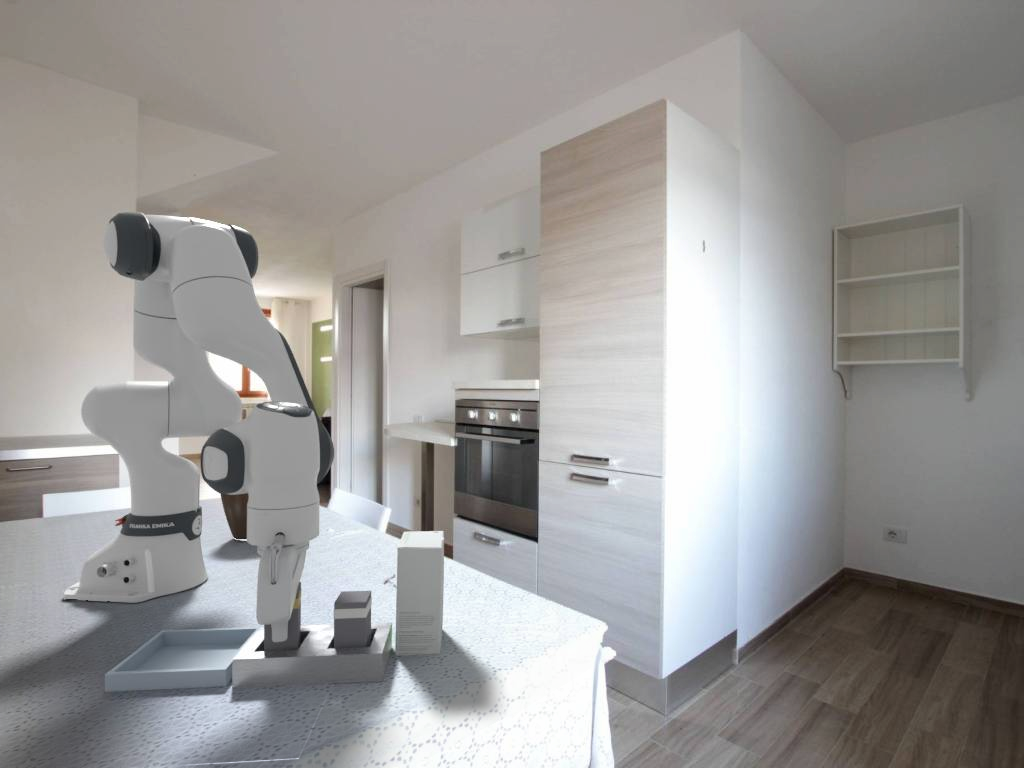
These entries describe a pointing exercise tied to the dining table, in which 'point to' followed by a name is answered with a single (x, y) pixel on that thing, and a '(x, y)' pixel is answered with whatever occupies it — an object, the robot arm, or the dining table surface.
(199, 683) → the tray
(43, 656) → the dining table surface
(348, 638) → the twin plug
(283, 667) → the double slot holder
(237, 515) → the plant pot
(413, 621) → the skincare box
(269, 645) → the plug
